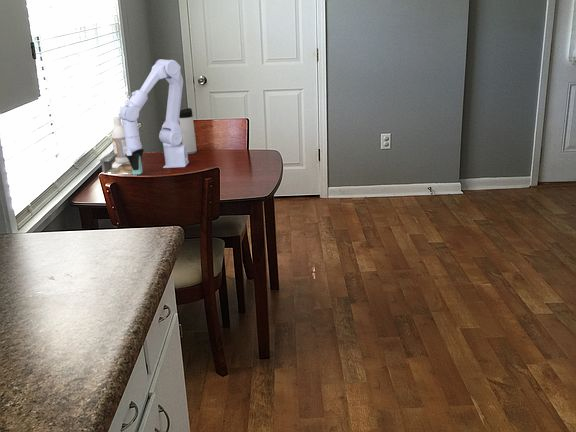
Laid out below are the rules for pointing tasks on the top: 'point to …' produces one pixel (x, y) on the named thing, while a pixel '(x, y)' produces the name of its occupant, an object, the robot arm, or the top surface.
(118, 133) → the bath foam
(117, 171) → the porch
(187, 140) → the travel mug
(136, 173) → the peg
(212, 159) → the top surface
